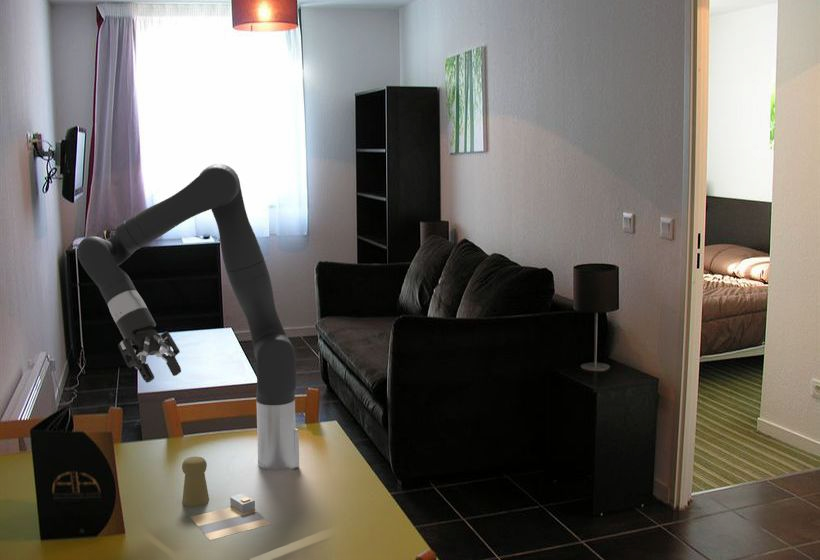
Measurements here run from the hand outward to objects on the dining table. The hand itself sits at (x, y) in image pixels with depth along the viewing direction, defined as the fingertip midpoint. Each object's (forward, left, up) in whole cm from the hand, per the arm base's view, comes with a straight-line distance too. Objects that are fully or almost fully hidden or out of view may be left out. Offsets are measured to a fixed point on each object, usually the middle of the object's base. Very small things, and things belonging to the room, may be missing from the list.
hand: (164, 377), depth 184 cm
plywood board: (-6, +22, -27) cm, 36 cm away
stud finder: (-10, +18, -26) cm, 33 cm away
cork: (-3, +9, -28) cm, 29 cm away
